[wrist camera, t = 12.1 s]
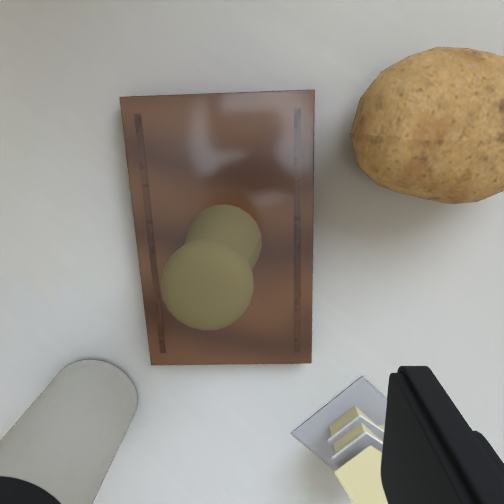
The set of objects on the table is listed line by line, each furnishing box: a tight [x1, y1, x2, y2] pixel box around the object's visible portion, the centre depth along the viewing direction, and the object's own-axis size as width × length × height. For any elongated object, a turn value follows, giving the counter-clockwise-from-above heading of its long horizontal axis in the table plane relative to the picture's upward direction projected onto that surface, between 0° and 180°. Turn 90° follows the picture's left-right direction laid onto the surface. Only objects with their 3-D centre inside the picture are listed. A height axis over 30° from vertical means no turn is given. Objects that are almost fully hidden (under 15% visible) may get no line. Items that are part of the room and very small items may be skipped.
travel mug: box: [0, 360, 137, 504], centre depth 29 cm, size 8×8×18 cm
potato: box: [350, 47, 504, 204], centre depth 26 cm, size 10×14×8 cm
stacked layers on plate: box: [291, 377, 388, 504], centre depth 35 cm, size 10×9×6 cm
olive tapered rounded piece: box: [161, 204, 262, 330], centre depth 26 cm, size 6×6×11 cm
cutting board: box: [120, 90, 315, 365], centre depth 32 cm, size 22×14×2 cm, turn 2°
